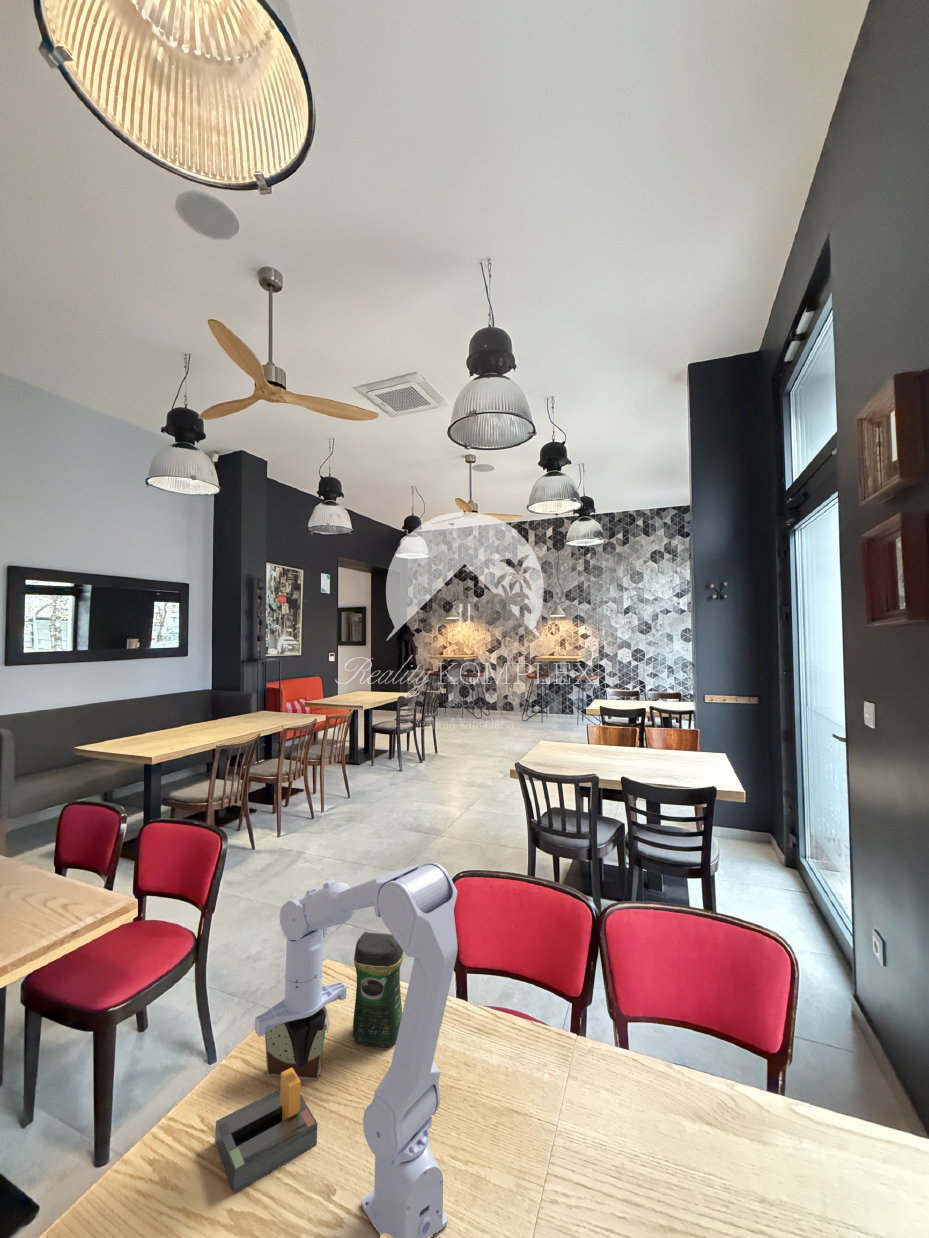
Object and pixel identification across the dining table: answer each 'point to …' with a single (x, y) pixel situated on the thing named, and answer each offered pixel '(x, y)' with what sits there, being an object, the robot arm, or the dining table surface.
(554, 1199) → the dining table surface
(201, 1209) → the dining table surface
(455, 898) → the robot arm
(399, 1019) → the coffee jar
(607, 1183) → the dining table surface
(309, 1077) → the food container
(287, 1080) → the lever
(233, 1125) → the switch box
